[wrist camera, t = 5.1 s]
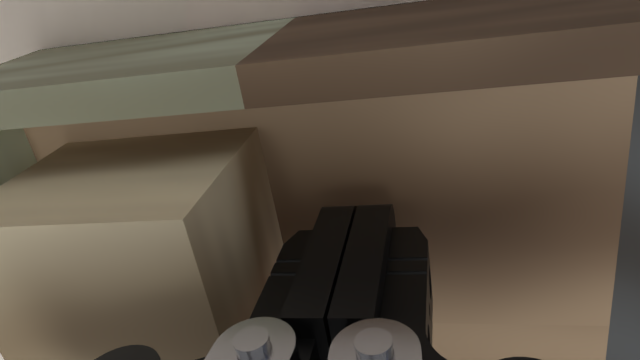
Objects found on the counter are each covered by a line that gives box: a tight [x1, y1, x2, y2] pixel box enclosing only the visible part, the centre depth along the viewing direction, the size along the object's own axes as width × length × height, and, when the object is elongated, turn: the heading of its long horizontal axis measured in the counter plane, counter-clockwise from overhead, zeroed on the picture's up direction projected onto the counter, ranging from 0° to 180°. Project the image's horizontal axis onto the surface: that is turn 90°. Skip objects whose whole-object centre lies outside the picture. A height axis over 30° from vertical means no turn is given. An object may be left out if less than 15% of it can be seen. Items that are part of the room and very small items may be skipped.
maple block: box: [0, 127, 283, 360], centre depth 12 cm, size 5×5×4 cm
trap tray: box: [0, 0, 640, 360], centre depth 13 cm, size 15×22×4 cm
